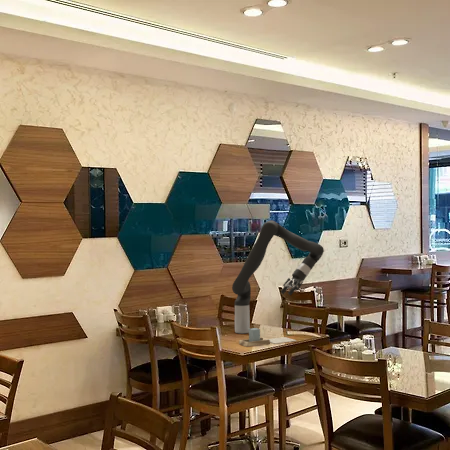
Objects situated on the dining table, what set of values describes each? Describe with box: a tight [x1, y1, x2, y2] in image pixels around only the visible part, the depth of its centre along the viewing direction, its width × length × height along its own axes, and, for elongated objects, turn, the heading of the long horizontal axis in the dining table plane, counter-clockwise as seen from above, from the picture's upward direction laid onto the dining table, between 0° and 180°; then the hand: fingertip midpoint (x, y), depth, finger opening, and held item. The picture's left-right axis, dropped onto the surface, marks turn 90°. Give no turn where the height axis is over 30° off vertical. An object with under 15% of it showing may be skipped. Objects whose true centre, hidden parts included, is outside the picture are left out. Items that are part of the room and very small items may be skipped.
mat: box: [264, 336, 297, 345], centre depth 337 cm, size 12×15×1 cm
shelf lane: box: [238, 336, 271, 348], centre depth 329 cm, size 8×15×2 cm, turn 118°
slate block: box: [248, 327, 261, 342], centre depth 329 cm, size 5×5×8 cm
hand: (285, 293), depth 339 cm, fingers open, 8 cm apart
